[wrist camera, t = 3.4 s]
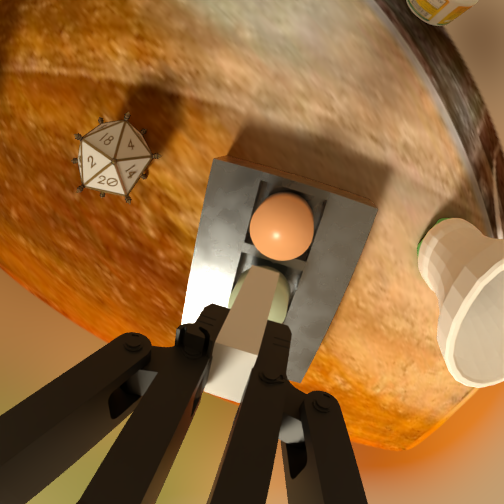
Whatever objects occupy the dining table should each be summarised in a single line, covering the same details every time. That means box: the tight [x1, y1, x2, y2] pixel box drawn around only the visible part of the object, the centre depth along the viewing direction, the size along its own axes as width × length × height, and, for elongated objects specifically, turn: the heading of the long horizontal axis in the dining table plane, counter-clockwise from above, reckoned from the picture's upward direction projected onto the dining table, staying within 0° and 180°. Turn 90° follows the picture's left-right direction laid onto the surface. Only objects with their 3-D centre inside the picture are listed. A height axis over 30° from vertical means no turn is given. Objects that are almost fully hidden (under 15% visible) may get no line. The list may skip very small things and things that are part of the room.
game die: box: [72, 112, 161, 204], centre depth 26 cm, size 9×8×10 cm
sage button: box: [228, 266, 290, 324], centre depth 26 cm, size 5×5×3 cm
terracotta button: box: [250, 192, 314, 261], centre depth 25 cm, size 5×5×3 cm
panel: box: [182, 155, 378, 383], centre depth 30 cm, size 14×20×4 cm
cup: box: [417, 218, 504, 388], centre depth 21 cm, size 11×11×14 cm
